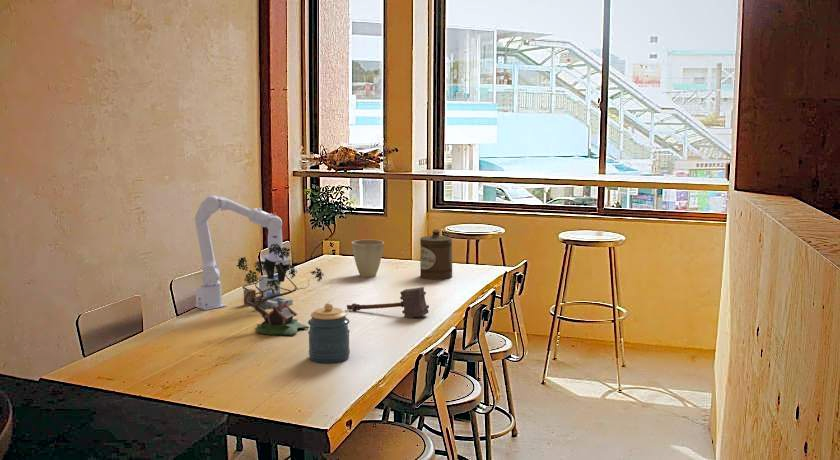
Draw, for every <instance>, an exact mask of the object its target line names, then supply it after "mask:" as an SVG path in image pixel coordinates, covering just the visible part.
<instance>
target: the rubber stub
mask: <svg viewBox="0 0 840 460" xmlns="http://www.w3.org/2000/svg"><path fill="white" fill-rule="evenodd" d="M264 298H265V297H263V298H262V299H264ZM258 306H259V307H261V308H262V309H264V310H265V311H266V310H268V306H267V301H265V302H264V304H263V303H262V304H259V305H258Z"/></svg>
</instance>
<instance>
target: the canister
mask: <svg viewBox="0 0 840 460" xmlns="http://www.w3.org/2000/svg"><path fill="white" fill-rule="evenodd" d="M347 315H348V313H347V312H346V311H345V310H343V309H341V308H338V307H334V306H333V304H332V303H330V302H327V303H325V304H324V306H323V307H319V308H317V309H315V310H314V311H313V312H311V313H310V317H311V318H310V319H309V320H307V324H308V325H309V330H308V357H309V360H310V361H312V362H315V363H318V364H319V363H322V364H333V363H334V364H335V363H340V362H343V361H346V360H348V359H349V358H350V354H351V351H350V350H351V349H350V332H351V331H350V329H349V323H350V319H349V318H347V317H346V316H347Z"/></svg>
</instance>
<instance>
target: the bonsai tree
mask: <svg viewBox="0 0 840 460" xmlns="http://www.w3.org/2000/svg"><path fill="white" fill-rule="evenodd" d="M273 245H274V247H273V249H272V248H269V251H270V252H269V253H272V252H274V255H275V253H276V255H277V253H278V254H280V252H281V254H280V255H278V256H279V258H282V260H284V256H285V259H288V257H290V252H289V251H291V248H288V247H283V248H280V245H278V244H277V243H276V244H271V247H272V246H273ZM278 246H279V247H278ZM274 249H275V250H274ZM277 250H278V251H277ZM282 251H283V252H282ZM276 258H277V257H276ZM277 261H278V260H277ZM247 262H248V260H247V259H246V256H244V257H239V259H238V260H237V264H236V265H235V266H236V267H238V269H239V270H242V271H245V272H248V273H247V274H245V277H244V282H245V283H246V284H244V285H242V289H243V290H247V291H248V293H247V295H246V296H245V298H244V297H243V302H244V301H245V302H246V303H247V304H248V305H250V306H251V307H252V309H254V311H255V310H256V311H257V312H258V313H259V314H260V315H261V317H262V318H263V320H264V321H263V322H261V323H257V324H256V328H255V329H256V331H257V333H259V334H261V335H267V336H287V337H289V336H290V337H293V336H295V334H297V333H298V330H301V329H302V330H303V329H310V326H308V325H306V324H302V323H300V322H298V319H297V318H296V319H295V318H294V317H296V316H297V315H298V313H297V312H296V311H295V310H293V309H292V308H291V307H290V306H289V305H287V303H288V301H287V300H286V302H285V303H284V304H283V305H282V303H283V301H277V303H278V307H276V306H275V307H274V306H273V308H272V310H271V311H270V312H268V311H266V310H264V309H262V308H261V307H259V304H262V303H263V304H264V302H265V301H267V300H270V299H273V298H276V297H279V296H281V297H284V296H285V295H289V294H292V293H294V292H296V291H298V290H303V289H307V288H308V287H309V285H310V283H307V285H306V287H301V288H297V287H298V286H297V285H296V284H295V283H294V282H292V279H294V278H295V277H296V274H297V273H298V271H297V268H296V266H294V265H292V264H290V263H289V260H288V261H287V262H288V265H289V268H286V269H285V268H284V270H287V272H288V273H287V272H286V271H285V272H286V273H287V274H286V275H285V278H286V279H288V280H289V282H290V283H291V284H292V285H293V286H294V289H292V290H291V289H287V288H283V287H281V285H282V282H280V283H279V281H278V279H277V280H274V279H275V278H274V279H273V278H272V279H271V281H267V284H268V283H269V284H270V285H269V286H270V288H268V289H266V290H264V291H262V290H260V289H259V286H257V284H259V281H261V280H262V279H261V280H259V277H257V272H258V273H259V274H260V273H261V271H262V272H264V271H265V272H266V270H268V269H266V270H265V268H266V267H265V266H263V265H266V264H267V263H264V262H265V260H263V261H262V260H259V261H258V260H257V261H256V262H254V269H255V271H252V270H251V269H249V268H248V263H247ZM293 262H295V263H296V262H299V261H298V260H297V261H296V260H295V261H294V260H293ZM263 263H264V264H263ZM277 264H279V262H278V263H277ZM249 265H252V264H251V263H249ZM279 265H280V264H279ZM280 268H281V267H280ZM314 268H315V270H312V271H310V273H311V275H312V276H313V275H314V278H311V279H310V280H309V279H307V281H308V282H310V281H311V280H314V279H316V281H317V282H318V283H319V282H320V281H321V280H323V277H324V275H325V274H324V272H323V271H322V269H320V268H319V267H314ZM248 269H249V270H248ZM281 269H282V271H283V267H282V268H281ZM283 273H284V272H283ZM284 274H285V273H284ZM266 275H267V276H269V275H270V274H269V275H268V274H267V273H266ZM267 276H266V277H267ZM288 276H290V278H289V277H288ZM266 277H265V278H266ZM263 279H264V278H263ZM275 282H277V283H275ZM277 284H278V285H279V284H280V287H278V286H277ZM252 285H254V286H255V289H257V290H258V291H260V292H256V294H254V295H253V297H254V296H255V295H256V298H255V297H254V298H253V299H252V301H250V302H248V301H247V300H246V299H247V297H248V296H249V294H250V291H249V290H248V289H249V288H247V287H248V286H252ZM274 285H275V286H274ZM266 286H268V285H266ZM272 286H274V287H276V288H275V289H276V291H277V290H278V289H277V288H280V290H284V291H286V292H282V293H281V292H280V294H277V295H275V294H274V291H275V289H274V290H273V288H274V287H273V288H272ZM269 289H271V290H272V293H273V296H269V297H263V295H264V294H263V292H265V291H267V290H269ZM260 293H262V295H261V296H259V297H258V296H257V295H259V294H260ZM262 298H264V299H262ZM255 299H256V300H255ZM254 300H255V301H256V302H255V301H254ZM251 302H255V303H253V304H252V303H251ZM250 306H249V307H250Z"/></svg>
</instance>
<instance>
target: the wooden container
mask: <svg viewBox="0 0 840 460" xmlns="http://www.w3.org/2000/svg"><path fill="white" fill-rule="evenodd" d="M440 233H441V231H440V230H439V229H433V230H432V233H431V234H432V235H427V236H422V237H420V243H419V244H420V259H419V260H420V261H419V262H420V263H419V264H420V269H419V270H420V273H419V274H420V278H422V279H425V280H437V281H438V280H447V279H451V278H452V277H453V246H452V245H453V243H452V242H453V239H452V237H451V236H446V235H445V236H444V235H441V234H440Z"/></svg>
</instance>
